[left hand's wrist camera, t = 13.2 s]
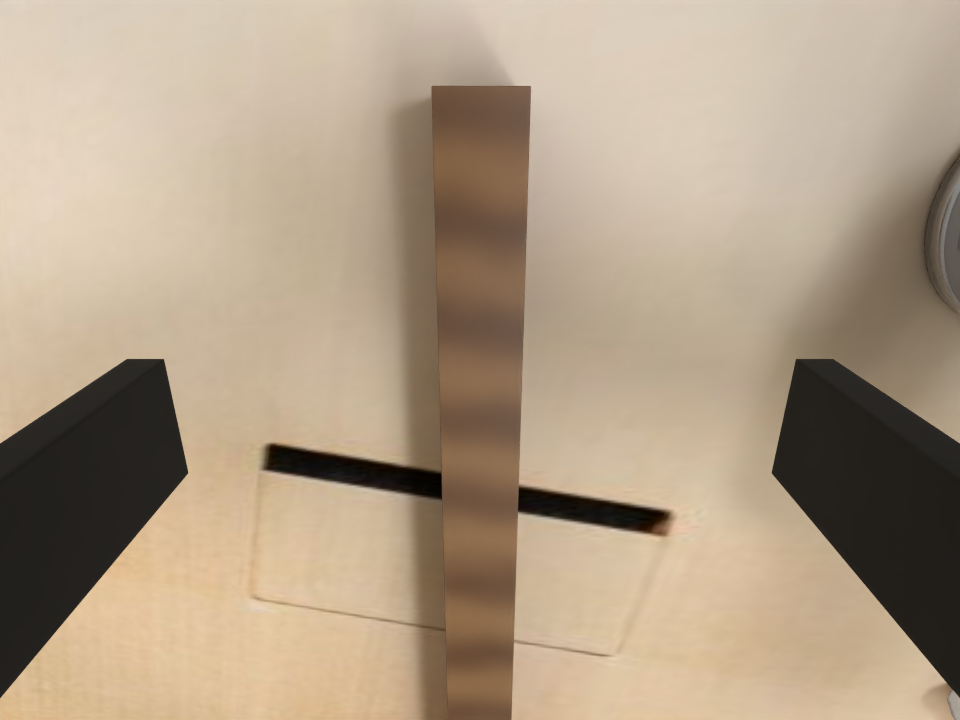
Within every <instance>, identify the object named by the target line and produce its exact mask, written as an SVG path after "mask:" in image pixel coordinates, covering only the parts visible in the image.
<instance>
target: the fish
mask: <svg viewBox="0 0 960 720" xmlns="http://www.w3.org/2000/svg"><path fill="white" fill-rule="evenodd" d="M947 701H948V704H949V707H950V710H951V714H952V716H953V717H954V718H955V720H960V698H959V697H958V695H957V694H956V693H955V692H954V691H953V689H952V690H951V691H950V693H949V695H948V698H947Z"/></svg>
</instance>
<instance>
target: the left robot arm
mask: <svg viewBox="0 0 960 720" xmlns="http://www.w3.org/2000/svg"><path fill="white" fill-rule="evenodd" d="M925 257H926V265H927V268H928V272H929V276H930V278H931V281H932V283H933V285H934V287H935V289H936V291H937V292H938V294H939V295H940V296H941V298H942V299H943V300H944V301H945V302H946V303H947V305H948V306H949V307H951V308H952V309H953V310H954V311H956V312H957V313H959V314H960V156H959V158H958V159H957V160H956V161H955V163H954V164H953V166H952V167H951V169H950V170H949V172H948V173H947V175H946V177H945V179H944V180H943V182H942V184H941V186H940V188H939V190H938V192H937V194H936V197H935V199H934V202H933V205H932V207H931V211H930V214H929V218H928V222H927V228H926V235H925ZM187 474H188V469H187V465H186V460H185V455H184V451H183V446H182V441H181V437H180V432H179V427H178V423H177V418H176V413H175V409H174V404H173V399H172V395H171V390H170V385H169V381H168V376H167V371H166V367H165V362H164V359H126V360H125V361H123V362H122V363H120V364H119V365H117V366H116V367H114V368H113V369H111V370H110V371H108V372H107V373H105V374H104V375H102V376H101V377H99V378H98V379H96V380H95V381H93V382H92V383H90V384H89V385H87V386H86V387H84V388H83V389H81V390H80V391H78V392H77V393H75V394H74V395H72V396H71V397H69V398H68V399H66V400H65V401H63V402H62V403H60V404H59V405H57V406H56V407H54V408H53V409H51V410H50V411H48V412H47V413H45V414H44V415H42V416H41V417H39V418H38V419H36V420H35V421H33V422H32V423H30V424H29V425H27V426H26V427H24V428H23V429H21V430H20V431H18V432H17V433H15V434H14V435H12V436H11V437H9V438H8V439H6V440H5V441H3V442H2V443H0V698H1V697H2V695H3V694H4V693H5V692H6V691H7V689H8V688H9V687H10V686H11V685H12V683H13V682H14V681H15V680H16V679H17V677H18V676H19V675H20V674H21V673H22V671H23V670H24V669H25V668H26V667H27V665H28V664H29V663H30V662H31V661H32V659H33V658H34V657H35V656H36V655H37V653H38V652H39V651H40V650H41V649H42V648H43V646H44V645H45V644H46V643H47V642H48V640H49V639H50V638H51V637H52V636H53V634H54V633H55V632H56V631H57V630H58V628H59V627H60V626H61V625H62V624H63V622H64V621H65V620H66V619H67V618H68V616H69V615H70V614H71V613H72V612H73V610H74V609H75V608H76V607H77V606H78V604H79V603H80V602H81V601H82V600H83V598H84V597H85V596H86V595H87V594H88V592H89V591H90V590H91V589H92V588H93V586H94V585H95V584H96V583H97V582H98V580H99V579H100V578H101V577H102V576H103V574H104V573H105V572H106V571H107V570H108V569H109V567H110V566H111V565H112V564H113V563H114V561H115V560H116V559H117V558H118V557H119V555H120V554H121V553H122V552H123V551H124V549H125V548H126V547H127V546H128V545H129V543H130V542H131V541H132V540H133V539H134V537H135V536H136V535H137V534H138V533H139V531H140V530H141V529H142V528H143V527H144V525H145V524H146V523H147V522H148V521H149V519H150V518H151V517H152V516H153V515H154V513H155V512H156V511H157V510H158V509H159V507H160V506H161V505H162V504H163V503H164V501H165V500H166V499H167V498H168V497H169V496H170V494H171V493H172V492H173V491H174V490H175V488H176V487H177V486H178V485H179V484H180V482H181V481H182V480H183V479H184V478H185V476H186V475H187ZM772 474H773V475H774V476H775V478H776V479H777V480H778V481H779V482H780V484H781V485H782V486H783V487H784V488H785V490H786V491H787V492H788V493H789V494H790V496H791V497H792V498H793V499H794V500H795V501H796V503H797V504H798V505H799V506H800V507H801V509H802V510H803V511H804V512H805V513H806V515H807V516H808V517H809V518H810V519H811V521H812V522H813V523H814V524H815V525H816V527H817V528H818V529H819V530H820V531H821V533H822V534H823V535H824V536H825V537H826V539H827V540H828V541H829V542H830V543H831V545H832V546H833V547H834V548H835V549H836V551H837V552H838V553H839V554H840V555H841V557H842V558H843V559H844V560H845V561H846V563H847V564H848V565H849V566H850V567H851V569H852V570H853V571H854V572H855V573H856V574H857V576H858V577H859V578H860V579H861V580H862V582H863V583H864V584H865V585H866V586H867V588H868V589H869V590H870V591H871V592H872V594H873V595H874V596H875V597H876V598H877V600H878V601H879V602H880V603H881V604H882V606H883V607H884V608H885V609H886V610H887V612H888V613H889V614H890V615H891V616H892V618H893V619H894V620H895V621H896V622H897V624H898V625H899V626H900V627H901V628H902V630H903V631H904V632H905V633H906V634H907V636H908V637H909V638H910V639H911V640H912V642H913V643H914V644H915V645H916V646H917V648H918V649H919V650H920V651H921V652H922V653H923V655H924V656H925V657H926V658H927V659H928V661H929V662H930V663H931V664H932V665H933V667H934V668H935V669H936V670H937V671H938V673H939V674H940V675H941V676H942V677H943V679H944V680H945V681H946V682H947V683H948V685H949V686H950V687H951V688H952V689H953V691H954V692H955V693H956V694H957V695H958V697H959V698H960V443H958V442H957V441H955V440H954V439H952V438H951V437H949V436H948V435H946V434H945V433H943V432H942V431H940V430H939V429H937V428H936V427H934V426H933V425H931V424H930V423H928V422H927V421H925V420H924V419H922V418H921V417H919V416H918V415H916V414H915V413H913V412H912V411H910V410H909V409H907V408H906V407H904V406H903V405H901V404H900V403H898V402H897V401H895V400H894V399H892V398H891V397H889V396H888V395H886V394H885V393H883V392H882V391H880V390H879V389H877V388H876V387H874V386H873V385H871V384H870V383H868V382H867V381H865V380H864V379H862V378H861V377H859V376H858V375H856V374H855V373H853V372H852V371H850V370H849V369H847V368H846V367H844V366H843V365H841V364H840V363H838V362H837V361H835V360H834V359H796V362H795V367H794V371H793V376H792V381H791V385H790V390H789V395H788V399H787V404H786V409H785V413H784V418H783V423H782V427H781V432H780V437H779V441H778V446H777V451H776V455H775V460H774V465H773V469H772Z"/></svg>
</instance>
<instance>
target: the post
mask: <svg viewBox="0 0 960 720" xmlns="http://www.w3.org/2000/svg"><path fill="white" fill-rule="evenodd" d="M530 102H531V86H432V122H433V160H434V198H435V237H436V275H437V314H438V352H439V390H440V429H441V467H442V505H443V544H444V582H445V621H446V659H447V697H448V720H511V713H512V681H513V649H514V617H515V585H516V553H517V520H518V488H519V456H520V424H521V392H522V360H523V328H524V295H525V263H526V231H527V199H528V167H529V135H530Z"/></svg>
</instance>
